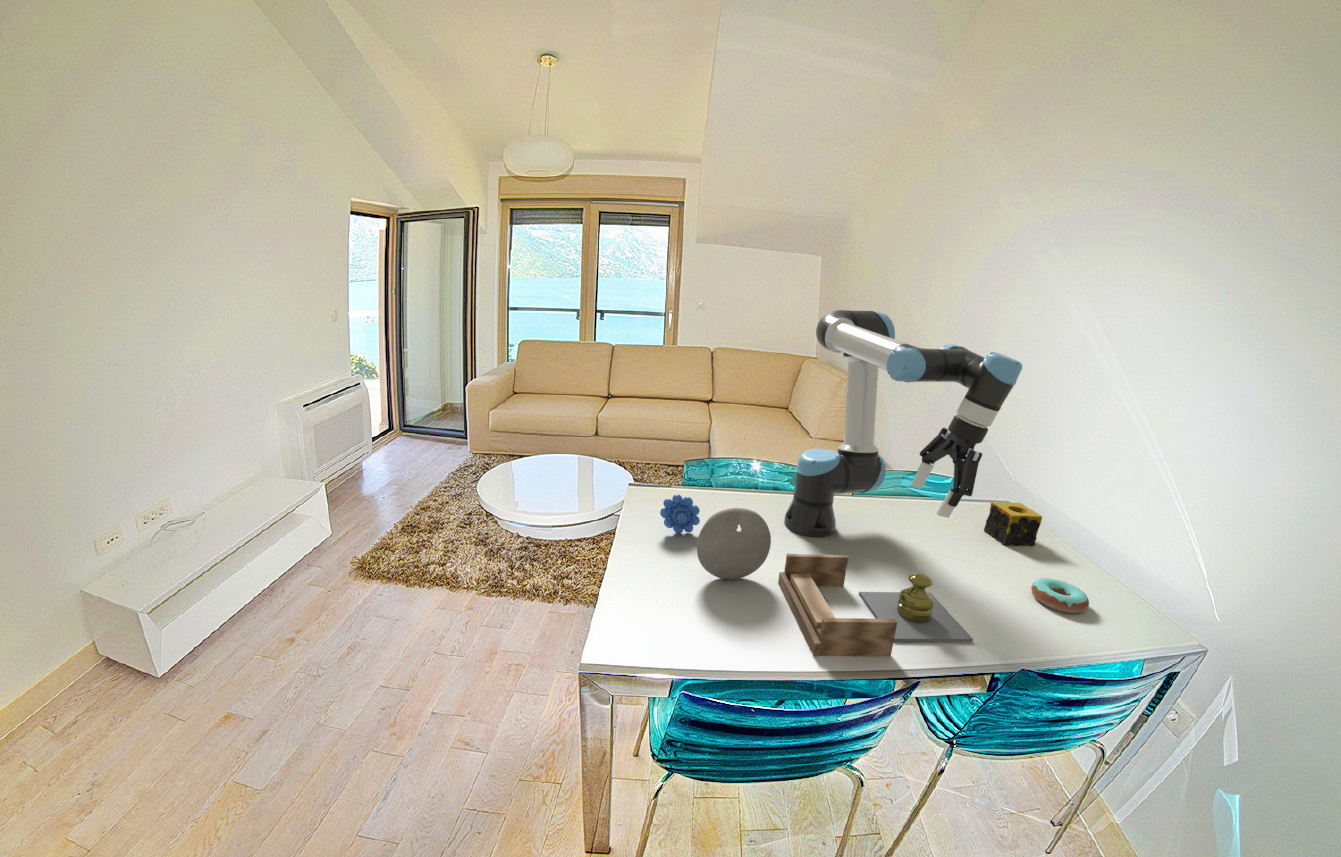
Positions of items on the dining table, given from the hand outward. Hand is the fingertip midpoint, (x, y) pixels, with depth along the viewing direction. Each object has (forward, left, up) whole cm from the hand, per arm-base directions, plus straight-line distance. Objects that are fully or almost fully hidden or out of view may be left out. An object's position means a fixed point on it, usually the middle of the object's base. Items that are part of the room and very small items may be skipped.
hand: (928, 500), depth 136 cm
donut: (+30, +19, -24) cm, 43 cm away
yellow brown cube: (+16, +52, -24) cm, 60 cm away
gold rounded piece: (+3, -13, -23) cm, 27 cm away
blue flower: (-60, -15, -24) cm, 66 cm away
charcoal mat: (+3, -13, -24) cm, 27 cm away
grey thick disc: (-37, -26, -24) cm, 51 cm away
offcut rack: (-12, -25, -24) cm, 36 cm away
